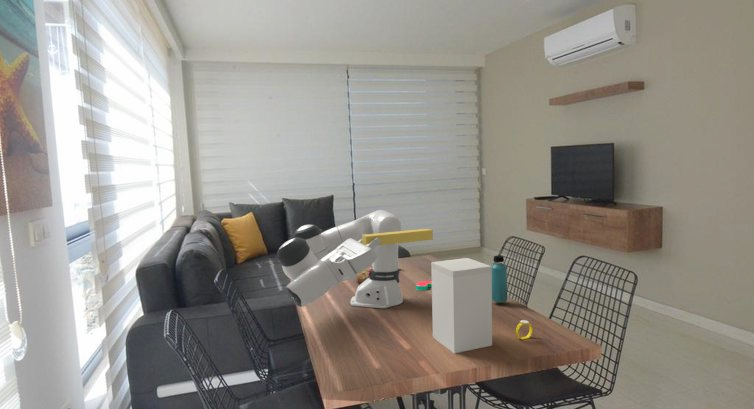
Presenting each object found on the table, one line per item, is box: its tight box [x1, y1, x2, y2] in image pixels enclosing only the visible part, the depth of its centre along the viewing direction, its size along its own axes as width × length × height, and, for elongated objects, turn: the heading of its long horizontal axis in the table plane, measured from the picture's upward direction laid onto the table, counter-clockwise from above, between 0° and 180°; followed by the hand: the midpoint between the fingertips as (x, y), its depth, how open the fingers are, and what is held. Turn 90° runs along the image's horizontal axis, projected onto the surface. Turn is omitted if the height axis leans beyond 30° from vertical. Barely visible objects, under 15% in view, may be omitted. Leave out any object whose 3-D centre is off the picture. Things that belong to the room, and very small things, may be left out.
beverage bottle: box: [491, 255, 508, 303], centre depth 184 cm, size 6×7×20 cm
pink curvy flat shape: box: [415, 280, 432, 291], centre depth 214 cm, size 20×16×2 cm
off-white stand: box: [430, 257, 493, 354], centre depth 147 cm, size 14×14×26 cm
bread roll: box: [356, 269, 369, 285], centre depth 224 cm, size 10×10×8 cm
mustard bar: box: [362, 228, 434, 245], centre depth 136 cm, size 22×4×3 cm, turn 111°
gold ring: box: [515, 319, 534, 341], centre depth 148 cm, size 6×3×6 cm, turn 111°
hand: (375, 238), depth 134 cm, fingers closed on mustard bar, 3 cm apart
